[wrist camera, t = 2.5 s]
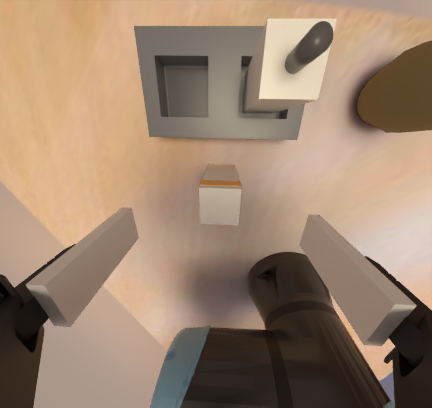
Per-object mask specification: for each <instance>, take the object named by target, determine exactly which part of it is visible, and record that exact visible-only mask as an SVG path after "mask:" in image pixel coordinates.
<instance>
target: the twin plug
mask: <svg viewBox="0 0 432 408" xmlns="http://www.w3.org/2000/svg"><path fill="white" fill-rule="evenodd" d="M336 21H337V19H267V22H266V24H265V27H264V29H263V32H262V34H261V37H260V39H259V42H258V44H257V47H256V49H255V52H254V54H253V57H252V59H251V62H250V64H249V67H248V69H247V72H246V74H245V86H244V99H243V112H242V113H276V112H279V111H282V110H286V109H289V108H292V107H295V106H299V105H302V104H305V103H309V102H312V101H315V100H318V96H319V92H320V88H321V84H322V80H323V76H324V71H325V67H326V63H327V59H328V55H329V51H330V46H331V43H332V40H333V34H334V30H335V26H336Z"/></svg>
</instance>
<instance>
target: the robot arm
mask: <svg viewBox="0 0 432 408" xmlns="http://www.w3.org/2000/svg"><path fill="white" fill-rule="evenodd" d="M138 238H139V237H138V233H137V229H136V224H135V220H134V215H133V211H132V208H121V209H120V210H118V211H117V212H116V213H115V214H113V215H112V216H111V217H110V218H108V219H107V220H106V221H105V222H103V223H102V224H101V225H100V226H98V227H97V228H96V229H95V230H93V231H92V232H91V233H90V234H88V235H87V236H86V237H84V238H83V239H82V240H81V241H79V242H78V243H77V244H74V245H72V246H70V247H68V248H66V249H65V250H63V251H62V252H60V253H59V254H58V255H56V256H55V258H53V259H52V260H50V261H49V262H47V264H45V265H44V266H43V267H41V268H40V269H38V270H37V271H36V272H34V273H33V274H32V275H31V276H29V277H28V278H27V279H25V280H24V281H23V282H22V283H20V284H19V285H18V286H16V287H15V288H14V287H13V286H12V285H11V283H10V282H9V281H8V279H7V278H6V277H5V276H3V275H0V408H33V405H34V398H35V391H36V384H37V378H38V371H39V364H40V358H41V351H42V344H43V338H44V327H43V324H44V323H45V322H46V321H47V319H48V318H49V319H50V320H51V322H52V323H53V325H54V326H66V327H70V326H71V325H72V324H73V323H74V321H75V320H76V319H77V318H78V316H79V315H80V314H81V312H82V311H83V310H84V308H85V307H86V306H87V305H88V303H89V302H90V301H91V299H92V298H93V297H94V295H95V294H96V293H97V291H98V290H99V289H100V288H101V286H102V285H103V284H104V282H105V281H106V280H107V278H108V277H109V276H110V274H111V273H112V272H113V271H114V269H115V268H116V267H117V265H118V264H119V263H120V261H121V260H122V259H123V258H124V256H125V255H126V254H127V252H128V251H129V250H130V248H131V247H132V246H133V244H134V243H135V242H136V241H137V239H138ZM300 246H301V248H302V249H303V251H304V252H305V254H306V255H307V256H305V255H302V254H298V253H279V254H275V255H272V256H269V257H267V258H265V259H263V260H261V261H260V262H258V263H257V264H256V265H255V266H254V267H253V268H252V270H251V271H250V273H249V276H248V287H249V293H250V296H251V298H252V300H253V302H254V304H255V306H256V308H257V310H258V312H259V313H260V315H261V317H262V319H263V321H264V324H265V328H266V330H257V329H233V328H210V326H207V327H197V328H185V329H183V330H181V331H180V332H179V333H178V334H177V335H176V337H175V338H174V340H173V342H172V344H171V346H170V348H169V350H168V352H167V355H166V357H165V360H164V363H163V366H162V368H161V372H160V374H159V378H158V381H157V384H156V387H155V391H154V394H153V398H152V402H151V406H150V408H432V310H430V309H429V308H428V307H427V306H426V305H425V304H424V303H422V302H421V301H420V300H419V299H418V298H417V297H416V296H415V295H413V294H412V293H411V292H410V291H409V290H408V289H407V288H406V287H404V286H403V285H402V284H401V283H400V282H399V281H396V279H395V278H394V277H393V276H392V275H391V274H388V272H387V271H386V270H385V269H384V268H383V267H382V266H381V265H380V264H378V263H377V262H375V261H373V260H372V259H370V258H369V257H366V256H363V255H362V254H361V253H360V252H359V251H358V250H356V249H355V248H354V247H353V246H352V245H351V244H350V243H349V242H348V241H347V240H346V239H345V238H344V237H342V236H341V235H340V234H339V233H338V232H337V231H336V230H335V229H334V228H333V227H332V226H331V225H330V224H328V223H327V222H326V221H325V220H324V219H323V218H322V217H321V216H320V215H308V218H307V222H306V225H305V228H304V232H303V235H302V238H301V242H300ZM329 291H330V292H329ZM330 293H331V295H332V296H333V298H334V299H335V301H336V302H337V304H338V305H339V307H340V309H341V310H342V312H343V313H344V315H345V316H346V318H347V320H348V321H349V323H350V324H351V326H352V327H353V329H354V331H355V332H356V334H357V335H358V337H359V338H360V340H361V341H362V343H363V345H375V346H382V345H383V344H384V343H385V342H386V341H387V339H388V338H389V339H390V340H391V341H392V343H393V344H394V345H395V346H396V347H395V348H394V349H393V350H392V351H391V352H390V353H389V354H388V355H387V356H386V357H385V359H384V362H385V363H387V364H388V363H389V362H390V361H391V360H393V375H394V376H393V377H394V396H395V397H394V398H395V404H394V402H393V401H392V400H390V399H389V397H388V395H387V394H386V392H385V391H384V389H383V387H382V386H381V384H380V383H379V381H378V379H377V378H376V376H375V374H374V373H373V371H372V370H371V368H370V366H369V365H368V363H367V361H366V360H365V358H364V357H363V355H362V353H361V352H360V350H359V348H358V347H357V345H356V344H355V342H354V340H353V339H352V337H351V336H350V334H349V332H348V331H347V329H346V327H345V326H344V324H343V323H342V321H341V320H340V318H339V316H338V315H337V313H336V311H335V309H334V307H333V304H332V300H331V296H330Z"/></svg>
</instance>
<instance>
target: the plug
mask: <svg viewBox="0 0 432 408" xmlns="http://www.w3.org/2000/svg"><path fill="white" fill-rule="evenodd" d="M241 191H242V188H241V183H240V181H239V178H238V175H237V172H236V168H235V165H215V164H209V165H208V167H207V170H206V172H205V174H204V177H203V179H202V180H201V182H200V186H199V207H200V224H211V225H236V226H238V225H239V213H240V202H241Z"/></svg>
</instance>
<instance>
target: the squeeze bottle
mask: <svg viewBox="0 0 432 408" xmlns="http://www.w3.org/2000/svg"><path fill="white" fill-rule="evenodd" d="M357 112H358V114H359V116H360V118H361V119H362V120H364V121H365V122H367V123H369V124H371V125H373V126H375V127H377V128H379V129H381V130H383V131H385V132H395V133H401V132H413V131H425V130H432V41H428V42H425V43H422V44H420V45H418V46H416V47H413V48H411V49H409V50H406V51H404V52H403V53H402V54H401V55H399V56H398V57H397V58H396V59H394V60H393V61H392V62H391V63H389V64H388V65H387V66H386V67H385V68H383V69H382V70H381V71H380V72H378V73H377V74H376V75H375V76H374V77H373V78H371V79H370V80H369V81H368V82H367V83H366V85H365V86H364V88H363V89H362V91H361V92H360V95H359V98H358V102H357Z"/></svg>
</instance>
